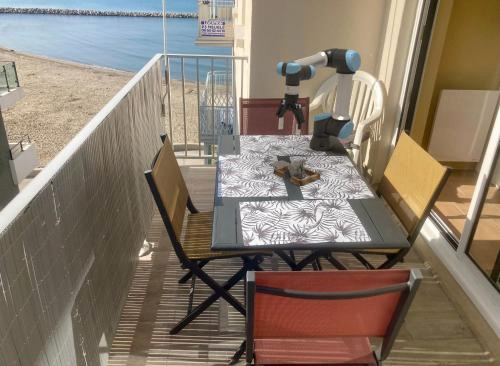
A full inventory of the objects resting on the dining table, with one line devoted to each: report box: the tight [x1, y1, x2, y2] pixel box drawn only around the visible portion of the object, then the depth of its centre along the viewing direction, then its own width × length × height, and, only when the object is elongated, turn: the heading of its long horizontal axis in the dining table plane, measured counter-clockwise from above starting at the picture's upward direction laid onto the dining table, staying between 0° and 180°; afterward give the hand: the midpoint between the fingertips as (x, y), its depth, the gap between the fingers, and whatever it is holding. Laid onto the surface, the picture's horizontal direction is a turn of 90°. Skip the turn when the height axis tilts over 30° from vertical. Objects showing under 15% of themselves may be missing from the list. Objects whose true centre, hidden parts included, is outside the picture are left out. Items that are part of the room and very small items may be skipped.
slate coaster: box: [268, 160, 290, 169], centre depth 248 cm, size 11×11×1 cm
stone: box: [288, 161, 307, 180], centre depth 232 cm, size 10×10×10 cm
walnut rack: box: [272, 165, 322, 187], centre depth 233 cm, size 16×21×3 cm
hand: (288, 131), depth 228 cm, fingers open, 13 cm apart
